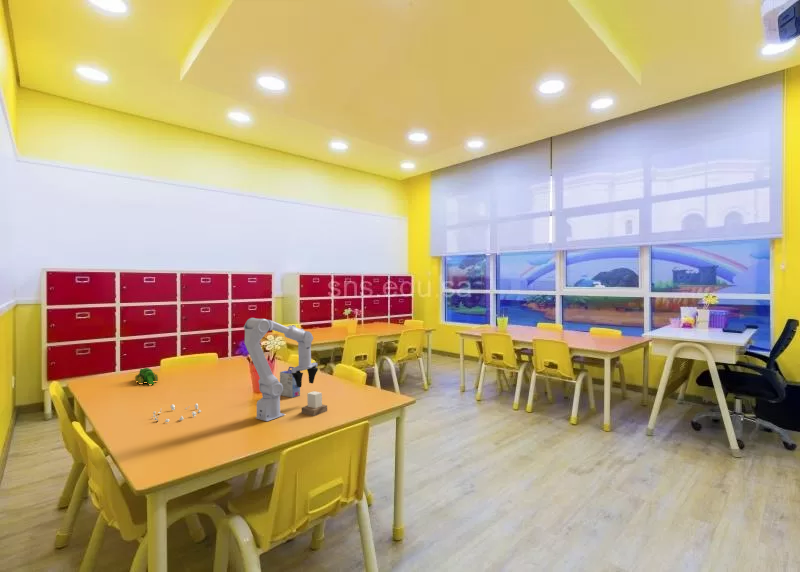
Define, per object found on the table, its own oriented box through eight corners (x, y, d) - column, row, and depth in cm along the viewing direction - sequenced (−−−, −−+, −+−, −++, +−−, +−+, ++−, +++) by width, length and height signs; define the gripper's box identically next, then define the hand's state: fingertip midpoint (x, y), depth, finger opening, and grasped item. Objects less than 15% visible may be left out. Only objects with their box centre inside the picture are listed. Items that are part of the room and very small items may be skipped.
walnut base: (314, 417, 172) (314, 410, 172) (301, 414, 176) (301, 407, 176) (327, 412, 178) (327, 405, 178) (314, 409, 183) (314, 402, 183)
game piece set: (155, 413, 181) (154, 404, 181) (203, 406, 189) (203, 398, 188) (146, 427, 163) (146, 418, 163) (200, 419, 171) (200, 411, 171)
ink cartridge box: (301, 395, 204) (300, 367, 203) (292, 398, 199) (292, 369, 199) (287, 392, 209) (287, 365, 209) (279, 395, 204) (278, 367, 204)
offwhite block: (315, 408, 174) (315, 394, 174) (307, 406, 177) (307, 393, 177) (322, 405, 178) (321, 392, 178) (314, 404, 180) (313, 391, 180)
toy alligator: (147, 375, 254) (147, 362, 253) (161, 384, 231) (160, 369, 231) (129, 378, 247) (129, 364, 247) (142, 388, 224) (141, 372, 224)
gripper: (298, 359, 178) (299, 389, 178) (321, 354, 190) (322, 382, 190) (288, 358, 181) (288, 387, 182) (311, 353, 194) (312, 380, 194)
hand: (305, 385), depth 186 cm, fingers open, 7 cm apart
